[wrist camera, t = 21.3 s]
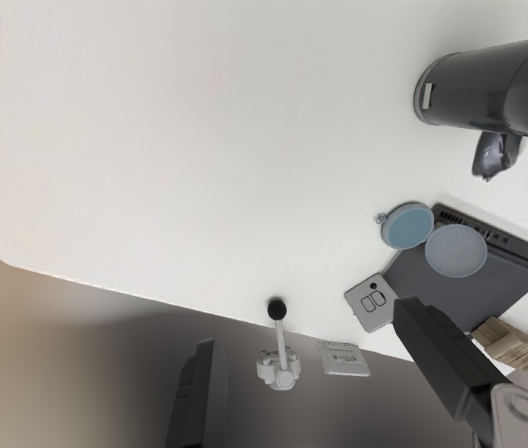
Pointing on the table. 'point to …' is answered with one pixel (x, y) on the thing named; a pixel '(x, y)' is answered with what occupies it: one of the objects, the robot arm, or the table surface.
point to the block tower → (503, 343)
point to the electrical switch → (372, 303)
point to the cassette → (337, 351)
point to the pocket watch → (435, 240)
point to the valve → (279, 356)
